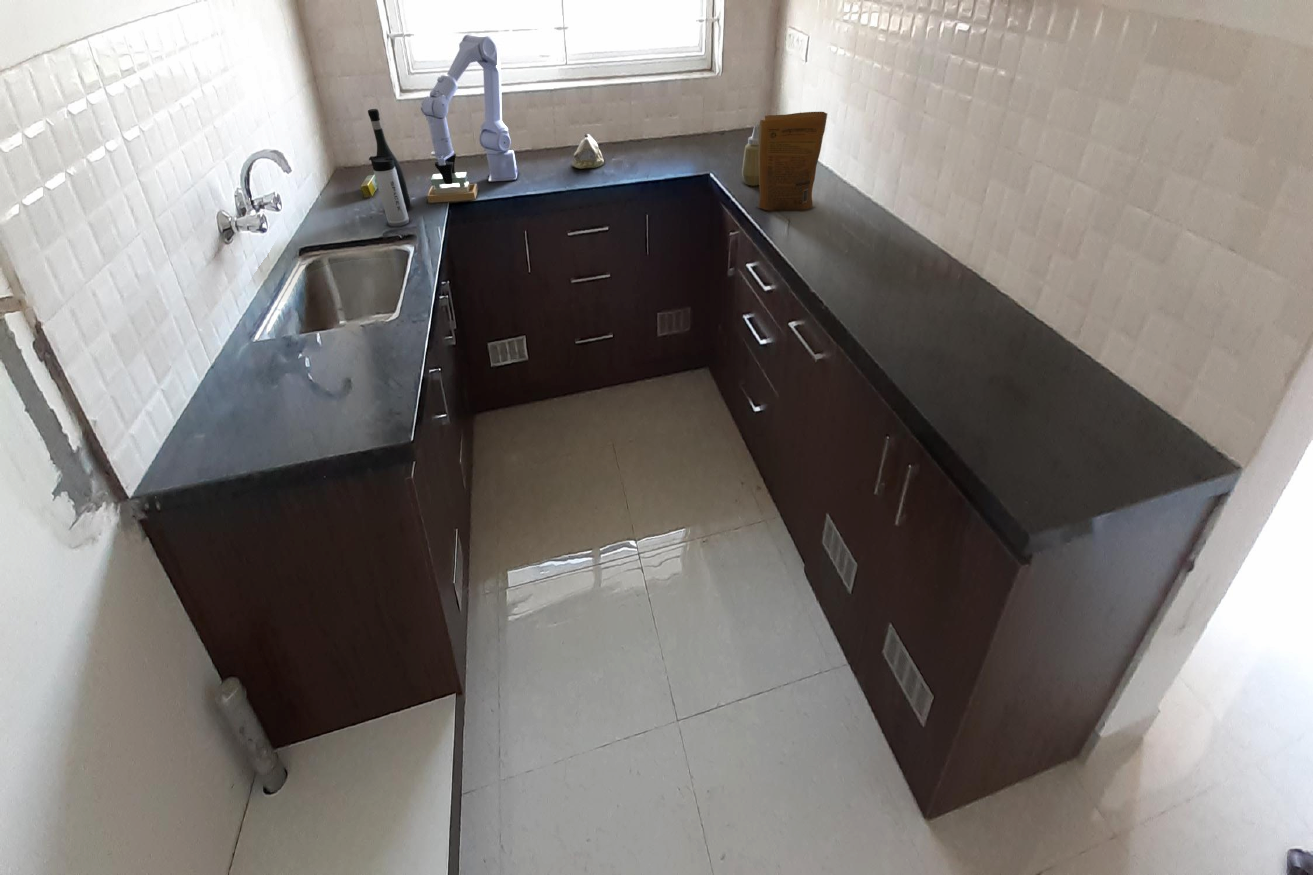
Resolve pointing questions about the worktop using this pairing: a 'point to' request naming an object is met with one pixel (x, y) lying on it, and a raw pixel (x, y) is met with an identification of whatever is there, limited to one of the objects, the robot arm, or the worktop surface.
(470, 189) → the tray
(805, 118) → the pancake mix bag
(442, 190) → the off-white rectangular slab
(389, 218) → the travel mug
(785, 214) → the worktop surface
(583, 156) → the ceramic model
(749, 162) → the squeeze bottle
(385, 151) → the wine bottle
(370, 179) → the medication box
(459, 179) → the sage green thick block
